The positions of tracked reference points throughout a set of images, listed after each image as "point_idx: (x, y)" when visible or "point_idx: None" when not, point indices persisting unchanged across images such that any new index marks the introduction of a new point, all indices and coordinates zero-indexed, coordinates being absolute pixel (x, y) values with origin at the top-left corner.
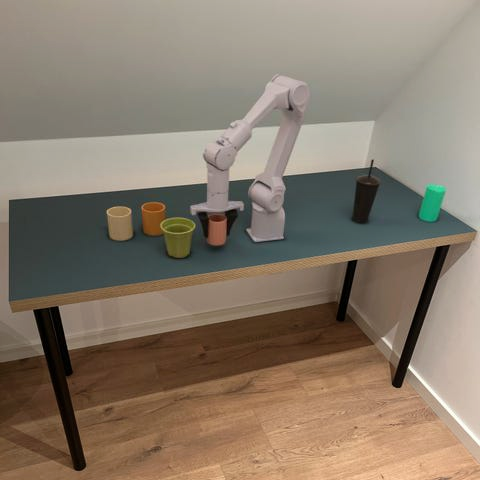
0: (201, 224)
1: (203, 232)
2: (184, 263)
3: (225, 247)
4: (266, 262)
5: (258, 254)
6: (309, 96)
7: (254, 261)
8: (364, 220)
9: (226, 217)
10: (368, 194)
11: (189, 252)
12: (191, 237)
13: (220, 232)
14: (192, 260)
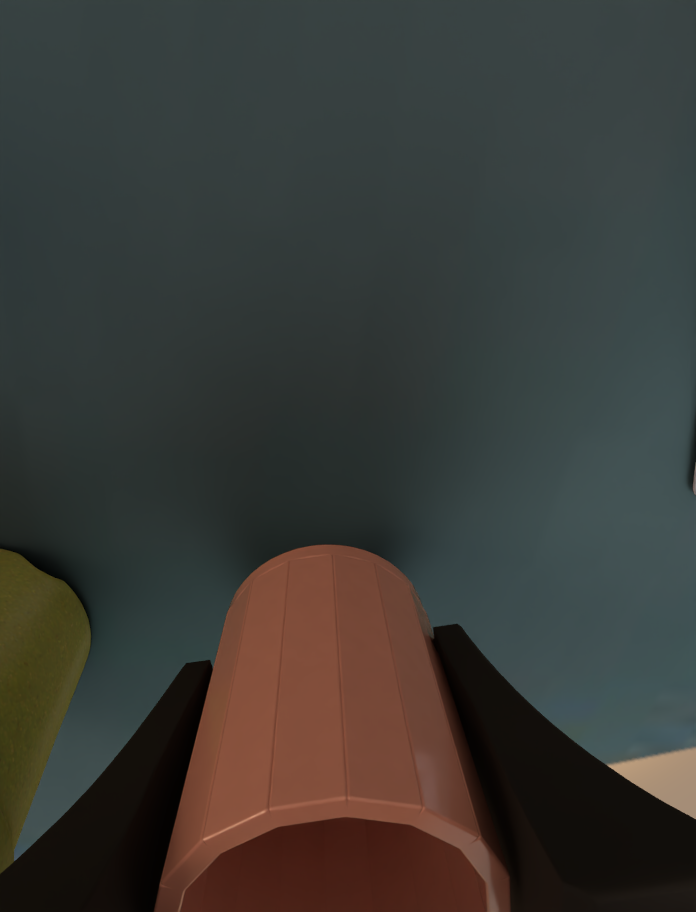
0: (108, 774)
1: (172, 687)
2: (64, 747)
3: (411, 554)
4: (646, 749)
5: (637, 660)
6: None
7: (571, 737)
8: None
9: (506, 907)
10: None
11: (86, 659)
12: (30, 804)
13: (360, 839)
14: (123, 715)
